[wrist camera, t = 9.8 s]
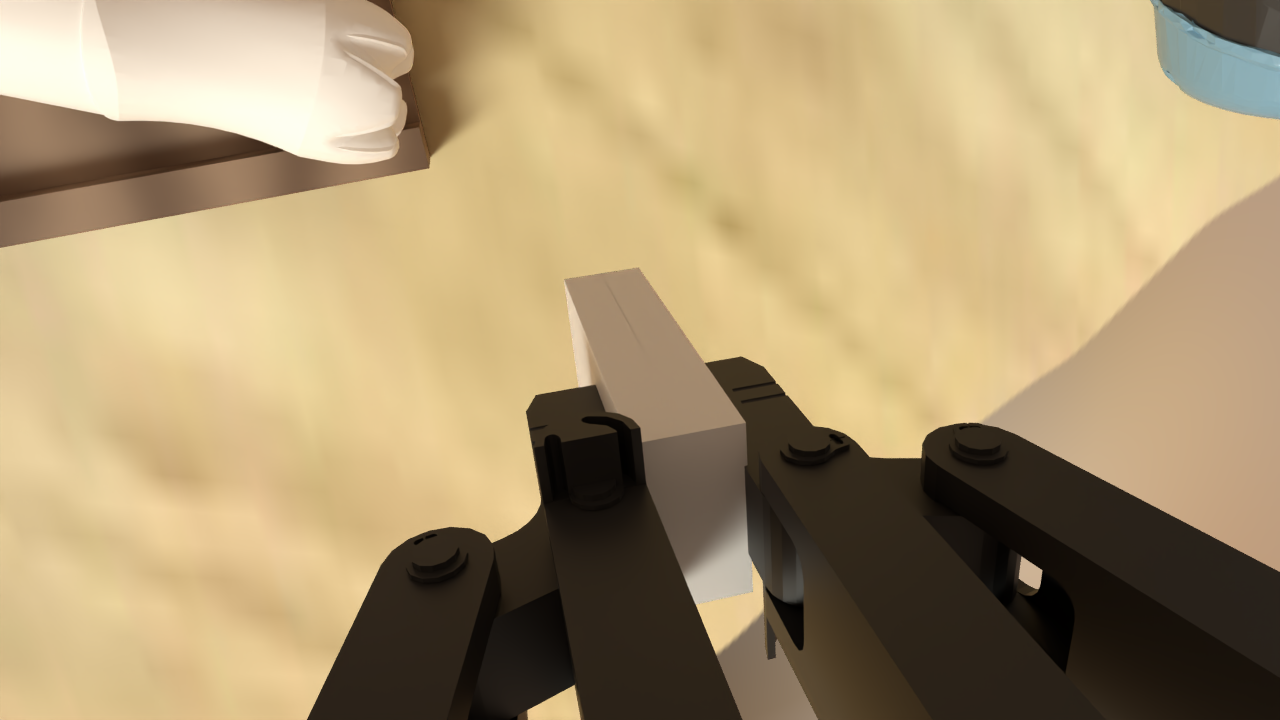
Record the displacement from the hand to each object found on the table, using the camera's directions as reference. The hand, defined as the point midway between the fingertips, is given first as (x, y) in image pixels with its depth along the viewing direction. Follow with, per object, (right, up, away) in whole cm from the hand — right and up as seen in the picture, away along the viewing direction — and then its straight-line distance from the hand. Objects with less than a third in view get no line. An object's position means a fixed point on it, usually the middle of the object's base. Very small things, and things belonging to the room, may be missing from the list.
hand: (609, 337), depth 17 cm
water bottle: (-10, +11, +21) cm, 25 cm away
